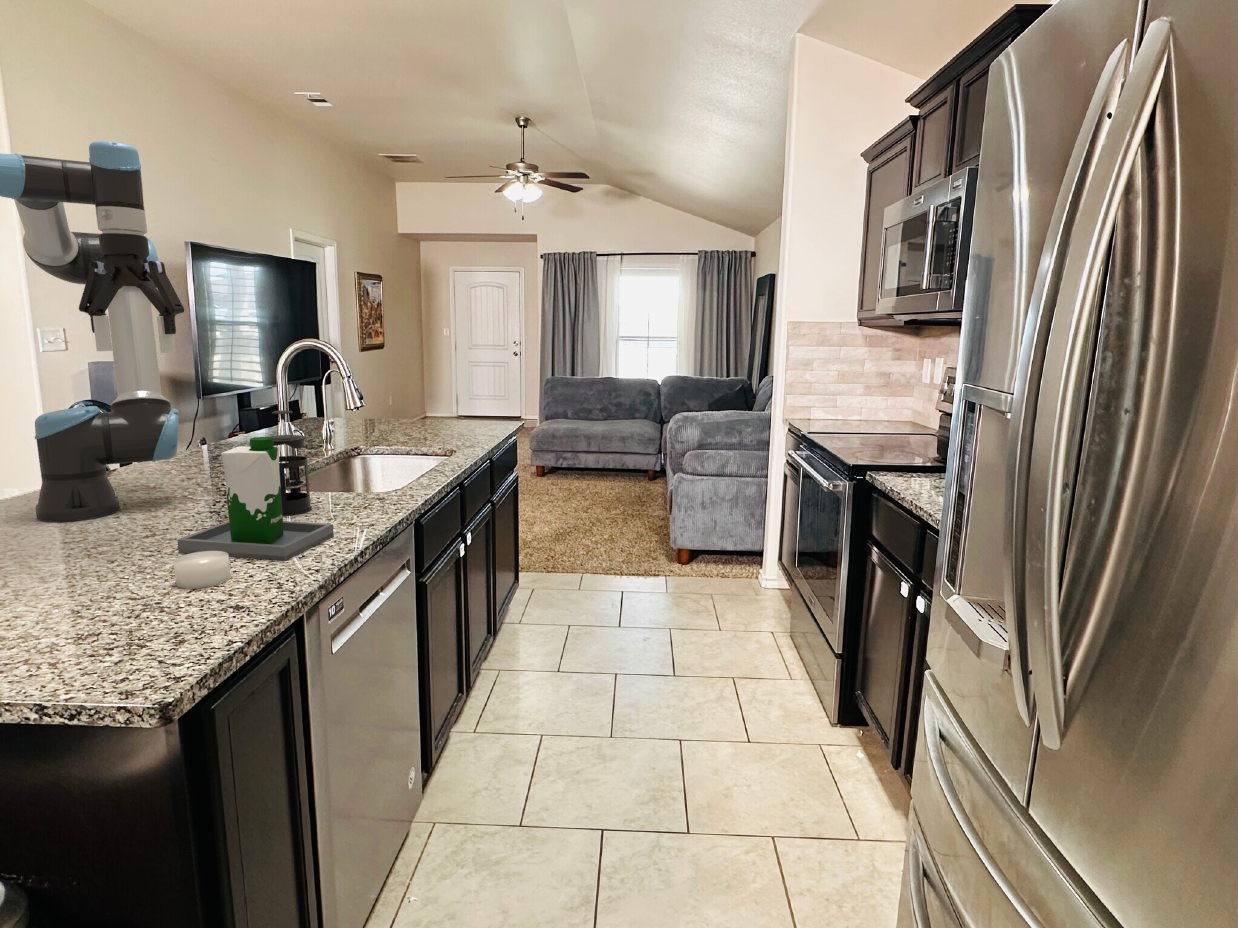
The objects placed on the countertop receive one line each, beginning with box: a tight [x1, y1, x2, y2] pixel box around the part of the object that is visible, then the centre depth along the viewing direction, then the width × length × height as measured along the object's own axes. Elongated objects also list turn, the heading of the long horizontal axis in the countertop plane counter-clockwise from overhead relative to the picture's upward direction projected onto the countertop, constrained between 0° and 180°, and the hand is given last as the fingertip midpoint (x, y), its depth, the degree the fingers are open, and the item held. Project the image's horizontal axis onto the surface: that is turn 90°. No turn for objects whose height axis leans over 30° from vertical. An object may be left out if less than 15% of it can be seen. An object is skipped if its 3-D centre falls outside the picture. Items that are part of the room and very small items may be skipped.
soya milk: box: [220, 436, 284, 545], centre depth 142 cm, size 9×9×20 cm
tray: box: [176, 520, 335, 561], centre depth 144 cm, size 22×16×2 cm
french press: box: [270, 410, 313, 517], centre depth 168 cm, size 12×9×23 cm
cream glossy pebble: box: [173, 551, 232, 589], centre depth 124 cm, size 8×8×4 cm
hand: (136, 352), depth 139 cm, fingers open, 13 cm apart
